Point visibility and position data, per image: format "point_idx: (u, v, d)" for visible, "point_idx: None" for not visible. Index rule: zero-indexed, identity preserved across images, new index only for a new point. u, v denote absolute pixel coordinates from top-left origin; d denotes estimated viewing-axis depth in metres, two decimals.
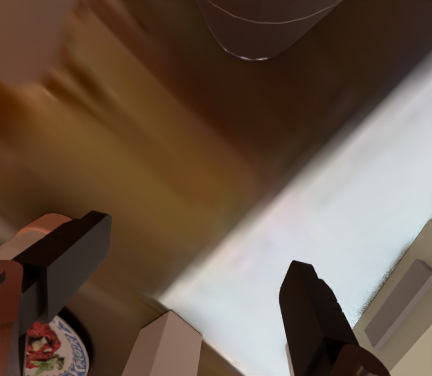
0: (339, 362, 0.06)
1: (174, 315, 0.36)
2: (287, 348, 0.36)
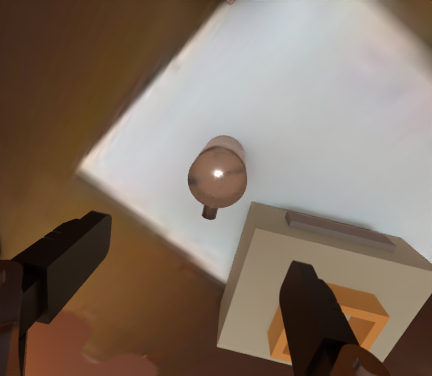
0: (339, 362, 0.06)
1: None
2: (228, 136, 0.28)
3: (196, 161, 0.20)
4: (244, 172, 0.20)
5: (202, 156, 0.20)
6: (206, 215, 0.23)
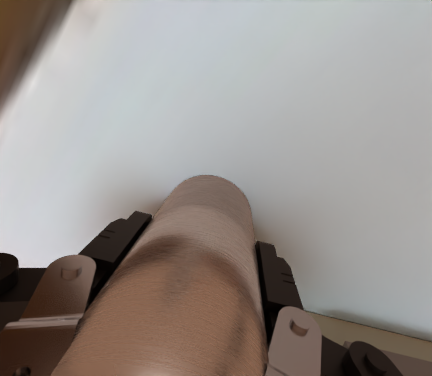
0: (275, 319, 0.07)
1: None
2: (216, 181, 0.12)
3: None
4: None
5: (61, 375, 0.04)
6: None
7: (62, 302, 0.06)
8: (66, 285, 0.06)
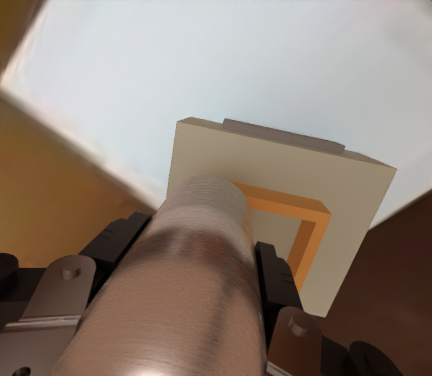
0: (275, 319, 0.07)
1: None
2: (216, 180, 0.12)
3: None
4: None
5: (60, 374, 0.04)
6: None
7: (62, 302, 0.06)
8: (65, 285, 0.06)
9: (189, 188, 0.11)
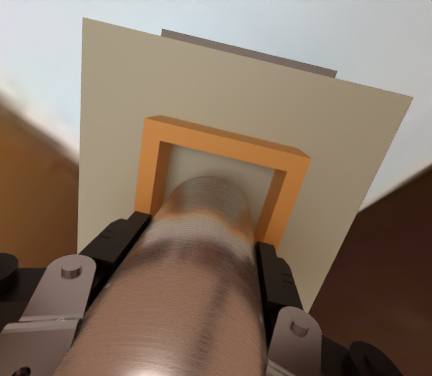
0: (275, 319, 0.07)
1: None
2: (216, 181, 0.12)
3: None
4: None
5: None
6: None
7: (62, 302, 0.06)
8: (65, 285, 0.06)
9: (189, 189, 0.11)
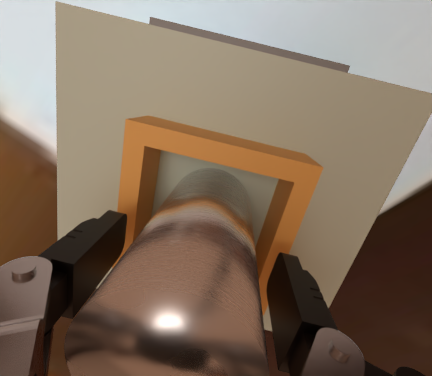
0: (314, 343, 0.06)
1: None
2: (218, 172, 0.14)
3: (84, 315, 0.05)
4: (260, 358, 0.05)
5: (103, 301, 0.05)
6: None
7: (5, 308, 0.05)
8: (19, 289, 0.06)
9: (195, 178, 0.13)
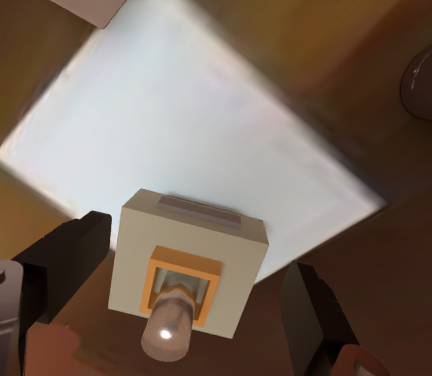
0: (339, 362, 0.06)
1: None
2: None
3: (147, 331, 0.25)
4: (186, 340, 0.25)
5: (152, 329, 0.24)
6: None
7: None
8: None
9: (175, 274, 0.32)
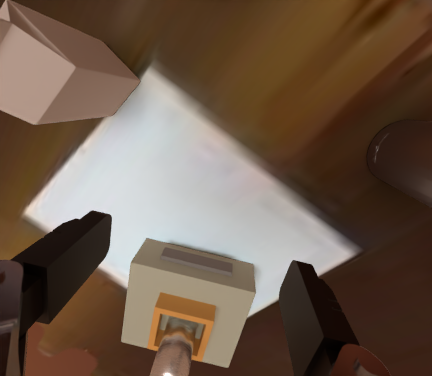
0: (339, 362, 0.06)
1: (135, 86, 0.34)
2: None
3: (153, 374, 0.30)
4: None
5: (156, 372, 0.30)
6: None
7: None
8: None
9: (176, 318, 0.38)
